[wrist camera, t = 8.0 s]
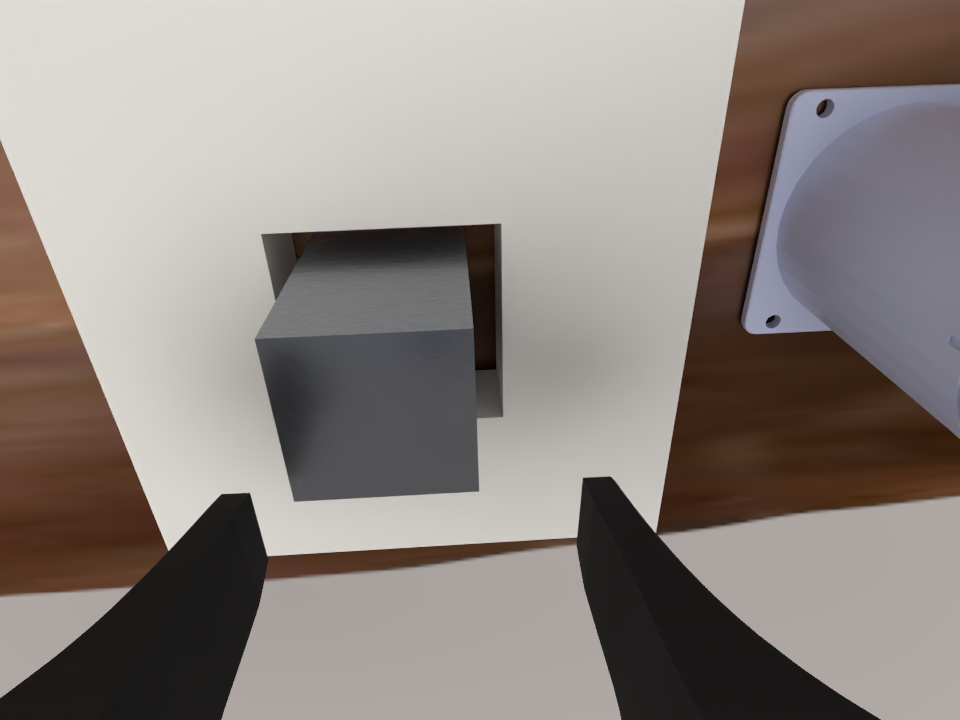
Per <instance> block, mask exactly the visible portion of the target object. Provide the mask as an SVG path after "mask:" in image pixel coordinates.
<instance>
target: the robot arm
mask: <svg viewBox="0 0 960 720" xmlns="http://www.w3.org/2000/svg"><path fill="white" fill-rule="evenodd" d="M825 99H826V101H827V107H826V109H825V111H824V112H823V113H822V114H821V115H817V114H816V109H817V107H818V104H819V103H820V102H822V101H823V100H825ZM773 315H776V316H775V318H774V320H773V321H771V322H770V323H766V321H767V319H768V318H769V317H770V316H773ZM741 324H742V326H743V327H744V329H745V330H746V331H748V332H749V333H751V334H771V333H791V332H811V331H831V330H832V331H833V332H834V333H836V334H837V335H838V336H839V337H840V338H842V339H843V340H844V341H845V342H846V343H847V344H849V345H850V346H851V347H852V348H853V349H855V350H856V351H857V352H858V353H859V354H860V355H862V356H863V357H864V358H865V359H866V360H868V361H869V362H870V363H871V364H872V365H873V366H875V367H876V368H877V369H878V370H879V371H881V372H882V373H883V374H884V375H885V376H886V377H888V378H889V379H890V380H891V381H892V382H894V383H895V384H896V385H897V386H898V387H899V388H901V389H902V390H903V391H904V392H905V393H907V394H908V395H909V396H910V397H911V398H913V399H914V400H915V401H916V402H917V403H918V404H920V405H921V406H922V407H923V408H924V409H926V410H927V411H928V412H929V413H930V414H931V415H933V416H934V417H935V418H936V419H937V420H939V421H940V422H941V423H942V424H943V425H944V426H946V427H947V428H948V429H949V430H950V431H952V432H953V433H954V434H955V435H956V436H957V437H959V438H960V84H936V85H909V86H881V87H854V88H827V89H806V90H802V91H799V92H798V93H796V94H795V95H793V97H792V98H791V99H790V100H789V102H788V105H787V107H786V111H785V116H784V120H783V125H782V130H781V134H780V139H779V144H778V148H777V153H776V158H775V162H774V167H773V172H772V176H771V181H770V186H769V191H768V195H767V200H766V205H765V209H764V214H763V219H762V223H761V228H760V233H759V237H758V242H757V247H756V251H755V256H754V261H753V266H752V270H751V275H750V280H749V284H748V289H747V294H746V298H745V303H744V308H743V312H742V317H741ZM577 549H578V555H579V561H580V566H581V572H582V578H583V583H584V589H585V592H586V595H587V599H588V603H589V606H590V609H591V612H592V616H593V620H594V623H595V626H596V629H597V633H598V636H599V640H600V643H601V646H602V649H603V653H604V656H605V660H606V663H607V666H608V670H609V673H610V676H611V679H612V683H613V686H614V690H615V694H616V698H617V702H618V706H619V710H620V715H621V719H622V720H880V719H879V718H877V717H876V716H874V715H872V714H871V713H869V712H867V711H866V710H864V709H863V708H861V707H859V706H857V705H856V704H854V703H853V702H851V701H850V700H848V699H846V698H845V697H843V696H842V695H840V694H838V693H837V692H836V691H834V690H833V689H831V688H830V687H828V686H827V685H825V684H824V683H822V682H821V681H820V680H818V679H817V678H815V677H814V676H812V675H811V674H809V673H808V672H806V671H805V670H804V669H802V668H801V667H800V666H798V665H797V664H795V663H794V662H793V661H792V660H790V659H789V658H788V657H786V656H785V655H784V654H782V653H781V652H780V651H779V650H777V649H776V648H775V647H773V646H772V645H771V644H769V643H768V642H767V641H766V640H764V639H763V638H762V637H760V636H759V635H758V634H757V633H756V632H754V631H753V630H752V629H751V628H750V627H748V626H747V625H746V624H745V623H744V622H743V621H741V620H740V619H739V618H738V617H737V616H736V615H735V614H733V613H732V612H731V611H730V610H729V609H728V608H727V607H726V606H725V605H724V604H722V603H721V602H720V601H719V600H718V599H717V598H716V597H715V596H714V595H713V594H712V593H711V592H710V591H709V590H708V589H707V588H706V587H705V586H704V585H703V584H702V583H701V582H700V581H699V580H698V579H697V578H696V577H695V576H694V575H693V574H692V573H691V572H690V571H689V570H688V569H687V568H686V567H685V566H684V565H683V564H682V562H681V561H680V560H679V559H678V558H677V557H676V556H675V555H674V554H673V553H672V551H671V550H670V549H669V548H668V547H667V546H666V544H665V543H664V542H663V541H662V540H661V539H660V538H659V536H658V535H657V534H656V533H655V532H654V531H653V529H652V528H651V527H650V526H649V524H648V523H647V522H646V521H645V520H644V518H643V517H642V516H641V514H640V513H639V512H638V511H637V509H636V508H635V507H634V506H633V504H632V503H631V502H630V500H629V499H628V498H627V496H626V495H625V494H624V492H623V491H622V490H621V488H620V487H619V485H618V484H617V483H616V481H615V480H614V479H613V478H612V477H611V476H608V477H586V478H583V481H582V492H581V503H580V513H579V524H578V534H577ZM267 563H268V557H267V553H266V549H265V546H264V542H263V538H262V535H261V531H260V528H259V524H258V520H257V517H256V513H255V509H254V506H253V502H252V498H251V495H250V493H234V494H221V495H220V496H219V497H218V498H217V499H216V500H215V501H214V502H213V503H212V504H211V505H210V507H209V508H208V509H207V510H206V511H205V512H204V513H203V514H202V515H201V516H200V517H199V519H198V520H197V521H196V522H195V523H194V524H193V525H192V526H191V527H190V528H189V530H188V531H187V532H186V533H185V534H184V535H183V536H182V537H181V538H180V539H179V540H178V542H177V543H176V544H175V545H174V546H173V547H172V548H171V549H170V550H169V551H168V552H167V553H166V554H165V555H164V556H163V557H162V559H161V560H160V561H159V562H158V563H157V564H156V565H155V566H154V567H153V568H152V569H151V570H150V571H149V572H148V573H147V574H146V575H145V576H144V577H143V578H142V579H141V580H140V581H139V582H138V583H137V584H136V585H135V586H134V587H133V588H132V589H131V590H130V591H129V592H128V593H127V594H126V595H125V596H124V597H123V598H122V599H121V600H120V601H119V602H118V603H116V605H114V607H112V609H110V610H109V611H108V612H107V613H106V614H105V615H104V616H103V617H102V618H100V620H98V621H97V622H96V623H95V624H94V625H93V626H92V627H90V628H89V629H88V630H87V631H86V632H84V633H83V634H82V635H81V636H80V637H79V638H77V639H76V640H75V641H74V642H73V643H72V644H70V645H69V646H68V647H67V648H65V649H64V650H63V651H62V652H61V653H59V654H58V655H57V656H56V657H54V658H53V659H52V660H50V661H49V662H48V663H47V664H45V665H44V666H43V667H41V668H40V669H39V670H38V671H36V672H35V673H33V674H32V675H31V676H29V677H28V678H27V679H25V680H24V681H23V682H21V683H20V684H19V685H17V686H16V687H15V688H13V689H12V690H11V691H9V692H8V693H7V694H6V695H4V696H3V697H1V698H0V720H221V719H222V715H223V712H224V709H225V706H226V703H227V700H228V697H229V694H230V691H231V688H232V685H233V682H234V679H235V676H236V673H237V670H238V667H239V664H240V661H241V658H242V655H243V652H244V649H245V647H246V643H247V640H248V638H249V635H250V631H251V628H252V625H253V622H254V619H255V616H256V613H257V610H258V607H259V603H260V598H261V594H262V589H263V584H264V579H265V574H266V569H267Z"/></svg>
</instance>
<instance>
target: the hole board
mask: <svg viewBox="0 0 960 720" xmlns="http://www.w3.org/2000/svg"><path fill="white" fill-rule="evenodd" d="M744 3H745V0H0V140H1V142H2V145H3V147H4V150H5V152H6V155H7V157H8V159H9V162H10V164H11V167H12V169H13V172H14V174H15V177H16V179H17V181H18V184H19V186H20V189H21V191H22V194H23V196H24V199H25V201H26V203H27V206H28V208H29V211H30V213H31V216H32V218H33V221H34V223H35V225H36V228H37V230H38V233H39V235H40V238H41V240H42V243H43V245H44V247H45V250H46V252H47V255H48V257H49V260H50V262H51V265H52V267H53V269H54V272H55V274H56V277H57V279H58V282H59V284H60V287H61V289H62V291H63V294H64V296H65V299H66V301H67V304H68V306H69V309H70V311H71V313H72V316H73V318H74V321H75V323H76V326H77V328H78V331H79V333H80V335H81V338H82V340H83V343H84V345H85V348H86V350H87V353H88V355H89V357H90V360H91V362H92V365H93V367H94V370H95V372H96V375H97V377H98V379H99V382H100V384H101V387H102V389H103V392H104V394H105V397H106V399H107V401H108V404H109V406H110V409H111V411H112V414H113V416H114V419H115V421H116V423H117V426H118V428H119V431H120V433H121V436H122V438H123V441H124V443H125V445H126V448H127V450H128V453H129V455H130V458H131V460H132V463H133V465H134V467H135V470H136V472H137V475H138V477H139V480H140V482H141V485H142V487H143V489H144V492H145V494H146V497H147V499H148V502H149V504H150V507H151V509H152V511H153V514H154V516H155V519H156V521H157V524H158V526H159V529H160V531H161V533H162V536H163V538H164V541H165V543H166V546H167V548H168V551H169V550H170V549H171V548H172V547H173V546H174V545H175V544H176V543H177V542H178V540H179V539H180V538H181V537H182V536H183V535H184V534H185V533H186V532H187V531H188V530H189V528H190V527H191V526H192V525H193V524H194V523H195V522H196V521H197V520H198V519H199V517H200V516H201V515H202V514H203V513H204V512H205V511H206V510H207V509H208V508H209V507H210V505H211V504H212V503H213V502H214V501H215V500H216V499H217V498H218V497H219V496H220V495H221V494H234V493H250V495H251V498H252V502H253V506H254V509H255V513H256V517H257V520H258V524H259V528H260V531H261V535H262V538H263V542H264V546H265V549H266V553H267V556H277V555H293V554H310V553H326V552H343V551H359V550H376V549H392V548H409V547H425V546H442V545H458V544H475V543H491V542H508V541H524V540H541V539H557V538H574V537H577V534H578V524H579V513H580V503H581V492H582V481H583V478H586V477H608V476H611V477H612V478H613V479H614V480H615V481H616V483H617V484H618V485H619V487H620V488H621V490H622V491H623V492H624V494H625V495H626V496H627V498H628V499H629V500H630V502H631V503H632V504H633V506H634V507H635V508H636V509H637V511H638V512H639V513H640V514H641V516H642V517H643V518H644V520H645V521H646V522H647V523H648V524H649V526H650V527H651V528H652V529H653V531H654V532H655V533H656V529H657V523H658V517H659V511H660V505H661V499H662V493H663V487H664V481H665V475H666V469H667V464H668V458H669V452H670V446H671V440H672V434H673V428H674V422H675V416H676V410H677V404H678V398H679V392H680V386H681V380H682V374H683V368H684V362H685V356H686V350H687V344H688V338H689V332H690V326H691V320H692V314H693V308H694V302H695V296H696V290H697V284H698V278H699V272H700V266H701V260H702V254H703V248H704V242H705V236H706V230H707V224H708V218H709V212H710V206H711V200H712V195H713V189H714V183H715V177H716V171H717V165H718V159H719V153H720V147H721V141H722V135H723V129H724V123H725V117H726V111H727V105H728V99H729V93H730V87H731V81H732V75H733V69H734V63H735V57H736V51H737V45H738V39H739V33H740V27H741V21H742V15H743V9H744ZM479 224H494V261H495V325H496V369H495V370H475V382H476V411H477V441H478V470H479V492H462V493H444V494H426V495H408V496H390V497H372V498H354V499H337V500H319V501H301V502H294V499H293V495H292V491H291V487H290V483H289V479H288V475H287V471H286V466H285V462H284V458H283V454H282V450H281V446H280V442H279V438H278V433H277V429H276V425H275V421H274V417H273V413H272V409H271V405H270V400H269V396H268V392H267V388H266V384H265V380H264V376H263V372H262V368H261V363H260V359H259V355H258V351H257V347H256V343H255V337H256V336H257V334H258V332H259V330H260V328H261V327H262V325H263V323H264V321H265V319H266V318H267V316H268V314H269V312H270V310H271V309H272V307H273V305H274V303H275V301H276V300H277V298H278V296H279V294H280V292H281V291H282V289H283V287H284V285H285V283H286V282H287V280H288V278H289V276H290V274H291V273H292V271H293V269H294V267H295V265H296V264H297V260H296V255H295V250H294V244H293V239H292V234H291V233H295V232H318V231H341V230H364V229H387V228H410V227H433V226H456V225H479Z"/></svg>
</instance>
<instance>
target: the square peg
mask: <svg viewBox="0 0 960 720" xmlns="http://www.w3.org/2000/svg"><path fill="white" fill-rule="evenodd" d="M255 343H256V347H257V351H258V355H259V359H260V363H261V368H262V372H263V376H264V380H265V384H266V388H267V392H268V396H269V400H270V405H271V409H272V413H273V417H274V421H275V425H276V429H277V433H278V438H279V442H280V446H281V450H282V454H283V458H284V462H285V466H286V471H287V475H288V479H289V483H290V487H291V491H292V495H293V499H294V502H301V501H319V500H337V499H354V498H372V497H390V496H408V495H426V494H444V493H462V492H479V470H478V441H477V411H476V382H475V353H474V327H473V317H472V306H471V296H470V285H469V275H468V264H467V254H466V243H465V233H464V225H456V226H433V227H410V228H387V229H364V230H341V231H318V232H314V233H313V235H312V237H311V238H310V240H309V242H308V244H307V246H306V247H305V249H304V251H303V253H302V255H301V256H300V258H299V260H298V262H297V264H296V265H295V267H294V269H293V271H292V273H291V274H290V276H289V278H288V280H287V282H286V283H285V285H284V287H283V289H282V291H281V292H280V294H279V296H278V298H277V300H276V301H275V303H274V305H273V307H272V309H271V310H270V312H269V314H268V316H267V318H266V319H265V321H264V323H263V325H262V327H261V328H260V330H259V332H258V334H257V336H256V337H255Z"/></svg>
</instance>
